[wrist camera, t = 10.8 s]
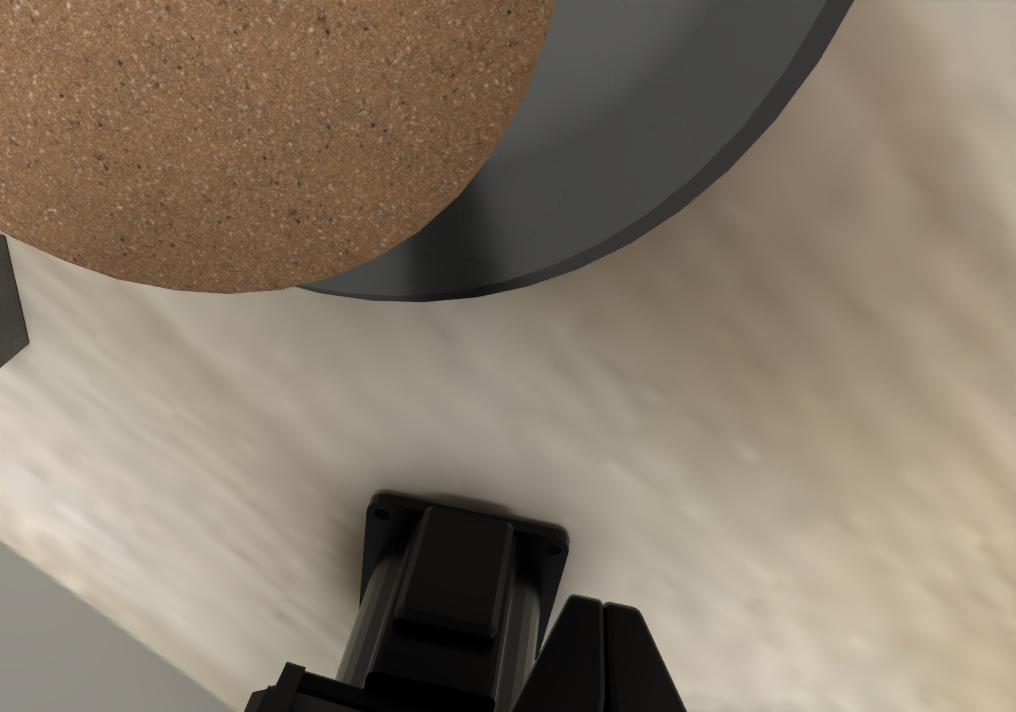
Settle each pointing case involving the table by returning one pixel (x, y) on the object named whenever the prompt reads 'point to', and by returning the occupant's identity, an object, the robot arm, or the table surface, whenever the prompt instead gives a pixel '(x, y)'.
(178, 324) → the table surface
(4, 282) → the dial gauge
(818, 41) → the turntable base
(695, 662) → the table surface
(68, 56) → the lidded jar
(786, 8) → the turntable
